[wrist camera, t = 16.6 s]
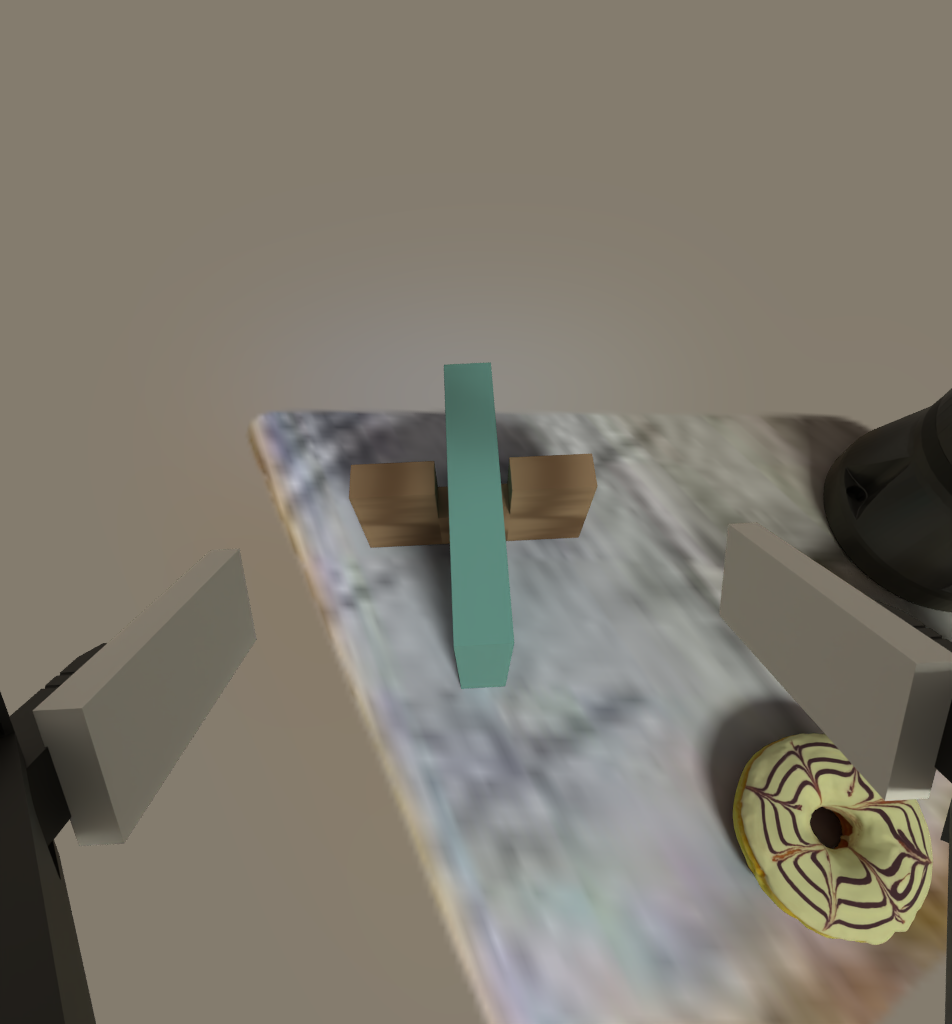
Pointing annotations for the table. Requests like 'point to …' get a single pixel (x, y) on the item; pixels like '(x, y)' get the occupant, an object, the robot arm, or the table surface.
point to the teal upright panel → (476, 530)
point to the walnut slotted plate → (425, 507)
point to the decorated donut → (832, 872)
